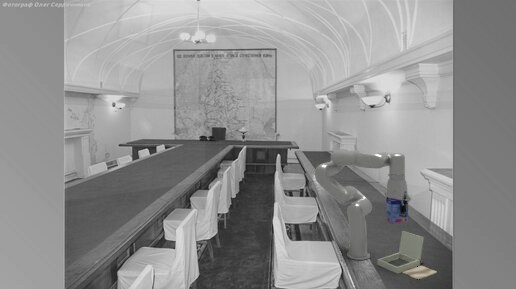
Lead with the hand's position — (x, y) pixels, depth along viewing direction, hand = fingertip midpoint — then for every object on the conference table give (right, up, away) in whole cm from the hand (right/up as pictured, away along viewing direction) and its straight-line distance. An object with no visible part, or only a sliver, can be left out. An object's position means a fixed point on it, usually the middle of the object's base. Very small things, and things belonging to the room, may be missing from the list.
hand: (397, 210), depth 185 cm
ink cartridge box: (0, -6, 0) cm, 6 cm away
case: (+3, -29, +3) cm, 29 cm away
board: (+8, -30, -8) cm, 32 cm away
